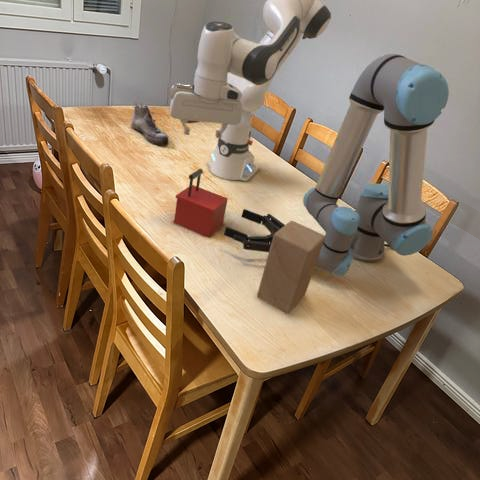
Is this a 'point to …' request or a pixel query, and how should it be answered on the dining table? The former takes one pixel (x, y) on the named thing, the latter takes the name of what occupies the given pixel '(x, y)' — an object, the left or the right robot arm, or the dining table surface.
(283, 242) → the wooden block
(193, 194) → the lid
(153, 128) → the shoe
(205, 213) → the chest
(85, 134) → the dining table surface
